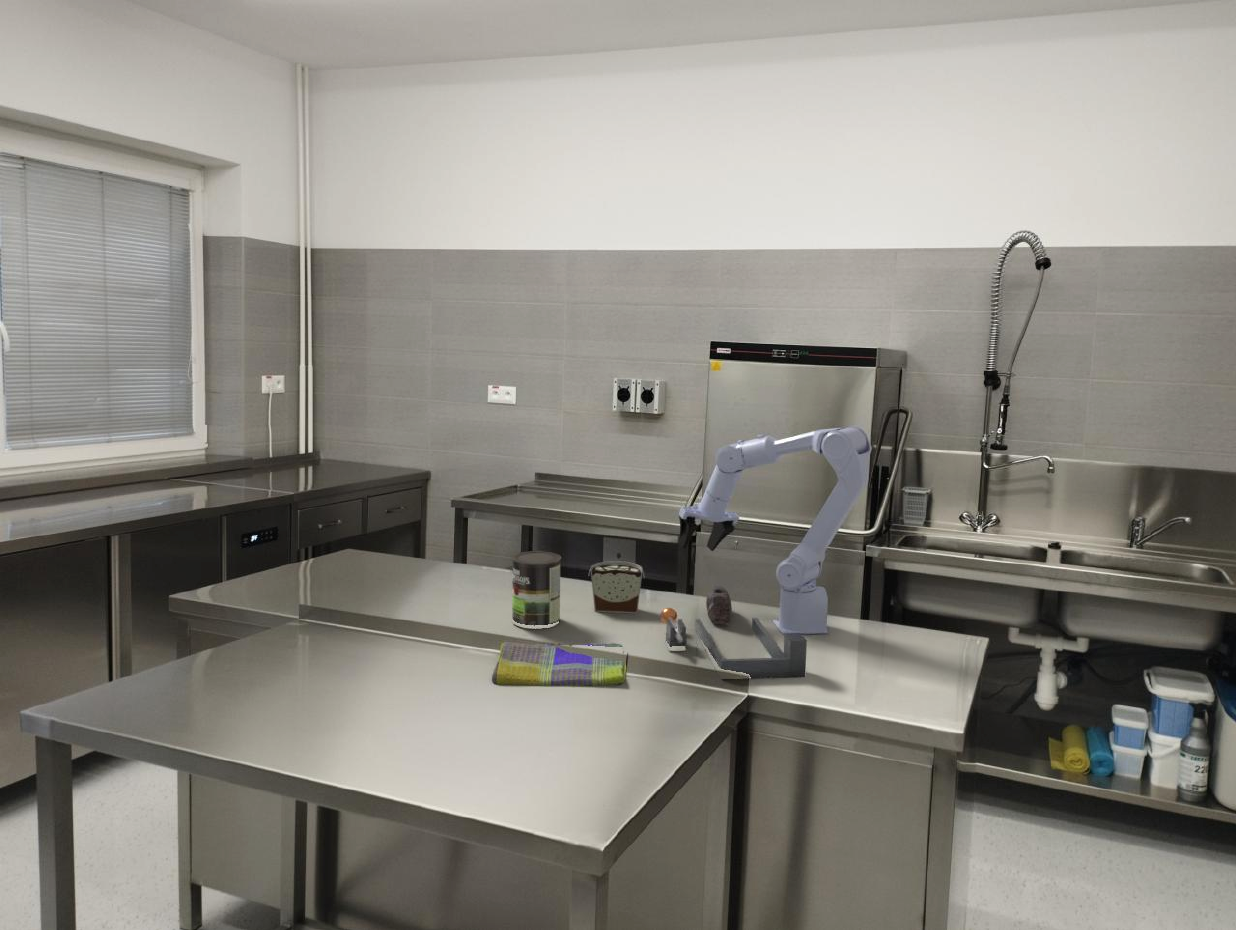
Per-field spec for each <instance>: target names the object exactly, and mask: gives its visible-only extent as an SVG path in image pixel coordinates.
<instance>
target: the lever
mask: <svg viewBox="0 0 1236 930" xmlns="http://www.w3.org/2000/svg"><path fill="white" fill-rule="evenodd" d="M660 619H661V621H662V623H664V624H665V625H667V620H669V619H670V620H671V622H672V624H673V627H674V634H675V636H676V638H677V640H678V642H679V643H682V642H683V638H682V636H681V634H680V632H679V630H678V625H677V624H676V621H678V614H677V610H675V608H673V607H665V608H664V609H663V610H662V611H661V613H660Z"/></svg>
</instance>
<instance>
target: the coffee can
mask: <svg viewBox="0 0 1236 930" xmlns="http://www.w3.org/2000/svg"><path fill="white" fill-rule="evenodd" d="M561 561H562V556H561V555H559V554H557V553H554V552H550V551H542V550H534V551H533V550H532V551H522V552H519V553H516V554H514V555H513V556H512V557H511V564H512V565H511V566H512V570H511V571H512V573H511V574H512V575H511V576H512V577H511V578H512V579H511V580H512V584H511V585H512V590H511V591H512V594H511V595H512V596H511V597H512V600H511V601H512V603H511V604H512V607H511V608H512V619H513V620H514V621H515V622H517V623H520V624H525V625H534V626H535V625H548V624H553V623H556V622H558V621H559V620H560V621H561ZM512 619H511V620H512Z"/></svg>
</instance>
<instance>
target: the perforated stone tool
mask: <svg viewBox="0 0 1236 930" xmlns="http://www.w3.org/2000/svg"><path fill="white" fill-rule="evenodd" d="M705 603H706V604H705V605H706V611H707V616H708V619H709V620H710V622H711V623H712V624H713V625H724V626H726V625H728V624H729V623H730V621H731V620H732V616H733V615H732V614H733V608H732V601H731V596H730V595H729V592H728V591H727V589H726V588H724V587H723V586H721V585H718V584H717V585H713V586H712V587H711V588H710V589H709V591H708V592H707V596H706V601H705Z"/></svg>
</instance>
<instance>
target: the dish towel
mask: <svg viewBox="0 0 1236 930" xmlns="http://www.w3.org/2000/svg"><path fill="white" fill-rule="evenodd" d="M549 645H550V644H549ZM549 645H548V643H544V644H543V643H537V644H529V643H518V642H509V641H504V642H503V643H501V645H500V650H499V651H500V653H499V655H498V659H497V662H496V664H495V667H494V669H493V672H492V674H491V675H492V676H491V682H492V683H494V684H496V685H510V686H511V685H512V686H513V685H515V686H542V687H543V686H544V687H545V686H550V687H551V686H554V687H556V686H557V687H562V686H564V687H569V686H570V687H572V686H573V687H574V686H576V687H577V686H578V687H579V686H580V687H582V686H584V687H587V686H594V687H595V686H597V687H599V686H609V685H610V686H611V685H618V684H624V683H625V679H626V673H627V672H626V671H627V667H626V665H623V662H622V661H615V660H607V659H603V658H593V657H590V656H587V655H583V654H577V653H576V654H575V653H569V652H566V651H564V650H562V649H560V648H558V647H555V646H549ZM579 645H588V646H590V645H592V646H605V647H623V645H622V644H621V643H614V642H612V643H605V642H604V643H581V644H579Z"/></svg>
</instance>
